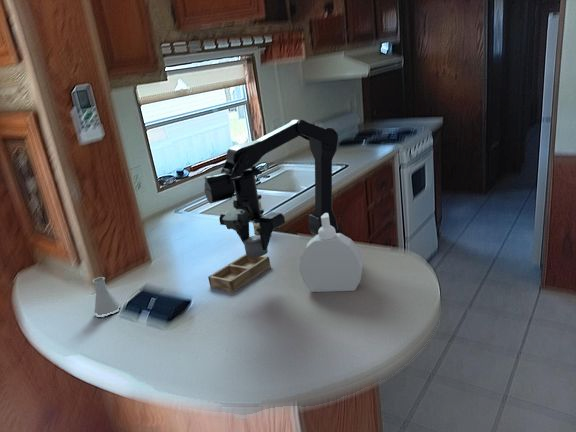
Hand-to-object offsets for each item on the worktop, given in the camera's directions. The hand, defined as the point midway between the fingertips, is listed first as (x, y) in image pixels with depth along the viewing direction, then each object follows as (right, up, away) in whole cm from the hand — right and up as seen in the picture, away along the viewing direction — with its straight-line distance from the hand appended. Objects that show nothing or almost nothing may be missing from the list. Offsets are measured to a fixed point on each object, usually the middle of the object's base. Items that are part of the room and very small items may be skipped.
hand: (256, 248), depth 128 cm
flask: (-41, -18, +2) cm, 45 cm away
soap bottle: (+21, -10, -4) cm, 24 cm away
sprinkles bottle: (-2, +3, +47) cm, 47 cm away
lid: (0, -1, 0) cm, 1 cm away
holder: (-5, -9, +11) cm, 16 cm away
